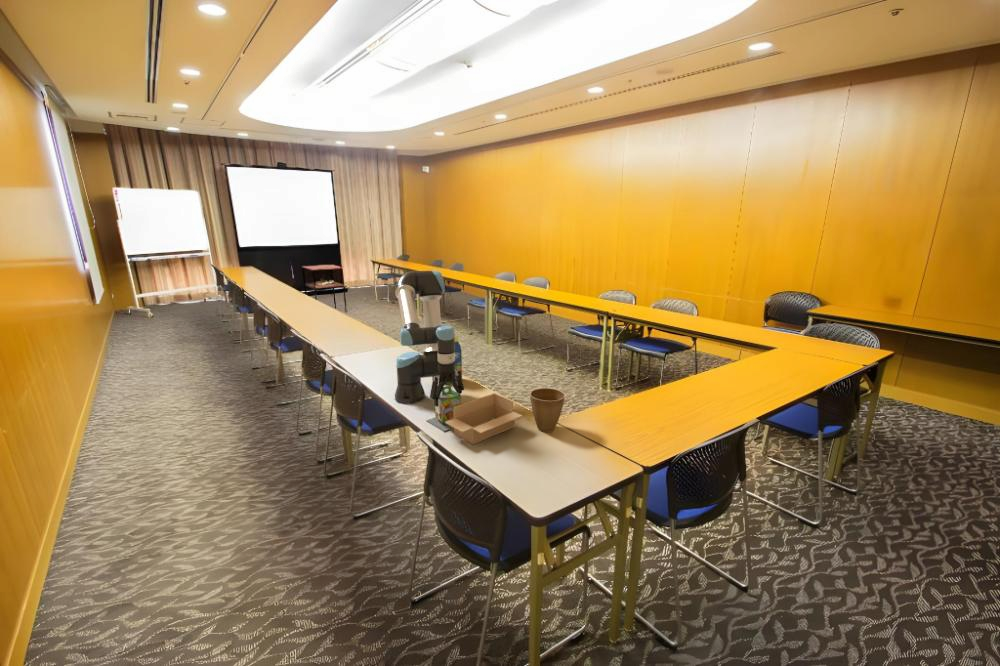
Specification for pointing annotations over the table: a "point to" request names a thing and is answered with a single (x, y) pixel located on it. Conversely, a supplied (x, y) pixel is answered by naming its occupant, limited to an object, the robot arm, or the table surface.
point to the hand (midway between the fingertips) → (447, 409)
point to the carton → (483, 418)
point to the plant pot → (546, 407)
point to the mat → (439, 424)
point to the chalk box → (447, 404)
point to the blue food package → (457, 358)
